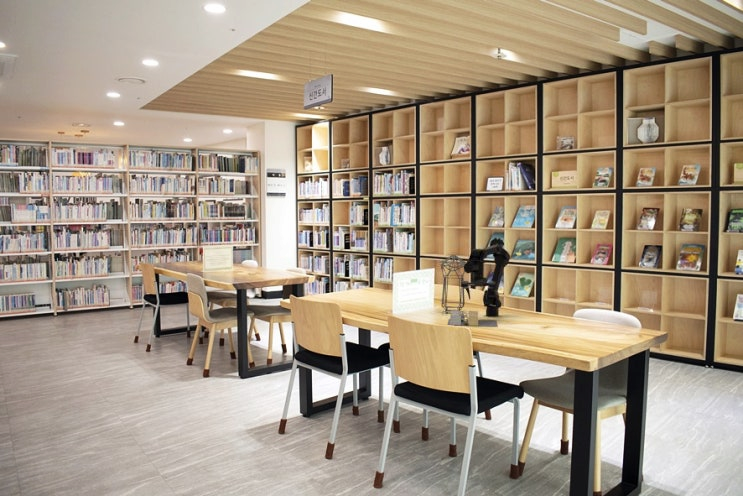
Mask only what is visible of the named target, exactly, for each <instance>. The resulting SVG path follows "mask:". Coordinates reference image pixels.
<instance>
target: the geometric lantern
mask: <svg viewBox="0 0 743 496" xmlns="http://www.w3.org/2000/svg"><path fill="white" fill-rule="evenodd" d="M450 259H451V261H449V260H450ZM448 261H449V262H448ZM458 261H459V262H458ZM466 263H467V261H465V260H463V259H462V258H461V257H459V256H457V254H451V255H449V256H448V257H446V258H445V259H444V260H442V261H440V269H441V271H442V278H443V283H442V284H443V286H442V297H441V308H443V309H444V310H445V313H446V314H449V312H451V310H452V309H454V308H456V309H454V310H455V311H462V309H463V308H465V301H466V300H465V289H464V287H461V282H462V281H465V280H464V274H465V273H466V272H465V271H464V270H463V272H461V271H460V269H461V268H464V265H465V264H466ZM445 268H446V269H447V270H448V273H447V272H446V269H445ZM452 269H453V270H452ZM457 271H459V272H460V274H458V273H457ZM451 272H455V274H450V273H451ZM444 273H445V274H444ZM449 276H451V277H452V279H457V280H458V285H459V288H458V289H459V293H460V295H459V301H457V302H453V301H451V302H450V301H448V290H449V289H448V287H449V286H448V285H449ZM453 276H457V277H453ZM448 304H458V306H452V305H451V306H450V305H449V306H448ZM461 304H462V305H461ZM449 308H452V309H449Z"/></svg>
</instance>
